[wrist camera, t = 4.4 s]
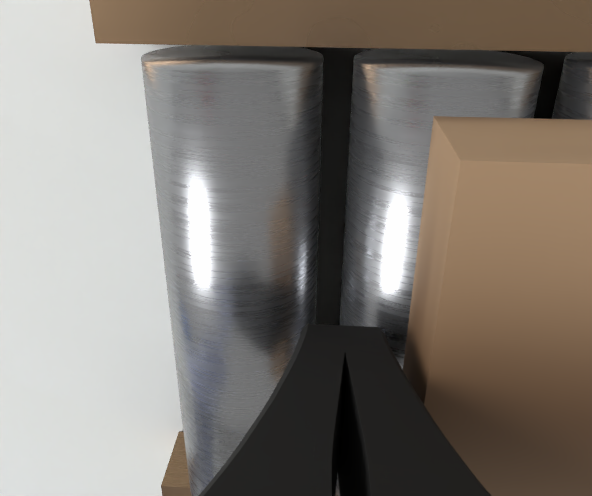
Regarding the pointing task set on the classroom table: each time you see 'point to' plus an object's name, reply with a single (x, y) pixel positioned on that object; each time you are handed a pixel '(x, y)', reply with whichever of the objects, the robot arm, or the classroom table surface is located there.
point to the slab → (507, 301)
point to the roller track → (308, 168)
